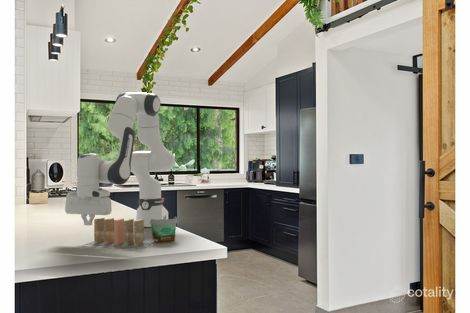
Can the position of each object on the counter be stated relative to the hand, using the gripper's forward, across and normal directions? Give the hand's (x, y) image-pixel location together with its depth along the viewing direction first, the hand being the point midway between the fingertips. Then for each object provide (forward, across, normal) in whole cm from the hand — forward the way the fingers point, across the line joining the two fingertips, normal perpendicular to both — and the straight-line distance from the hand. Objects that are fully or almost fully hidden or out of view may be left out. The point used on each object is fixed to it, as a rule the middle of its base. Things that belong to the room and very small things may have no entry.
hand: (88, 225), depth 172 cm
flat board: (+8, +14, 0) cm, 16 cm away
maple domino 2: (+7, +10, 0) cm, 12 cm away
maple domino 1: (+7, +5, 0) cm, 9 cm away
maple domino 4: (+7, +23, 0) cm, 24 cm away
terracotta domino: (+7, +14, 0) cm, 16 cm away
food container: (+8, +31, +9) cm, 34 cm away
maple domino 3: (+7, +19, 0) cm, 20 cm away
